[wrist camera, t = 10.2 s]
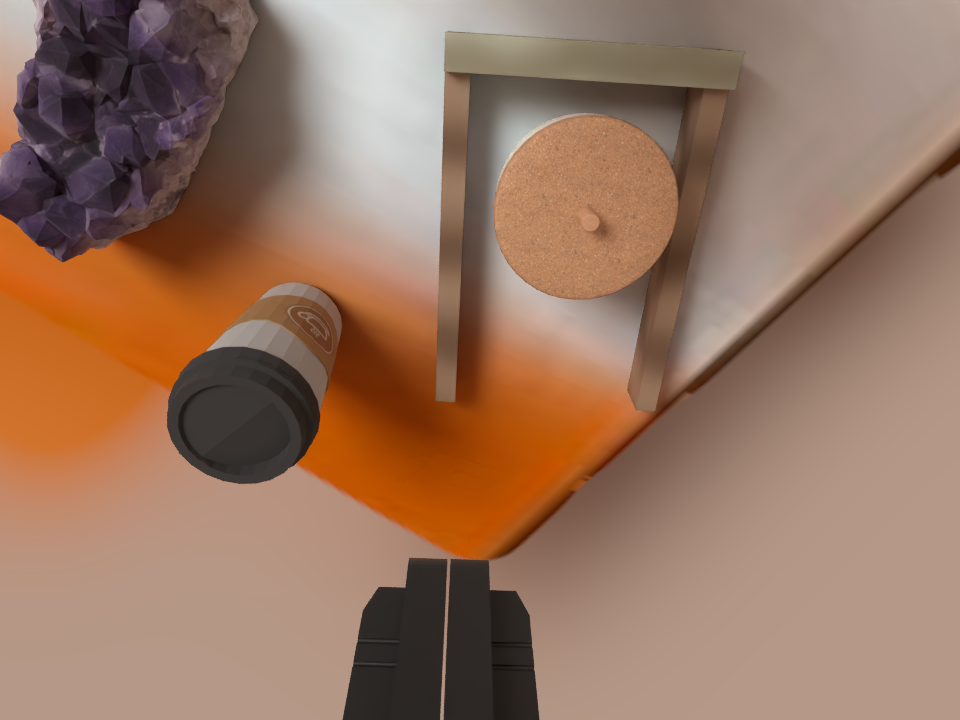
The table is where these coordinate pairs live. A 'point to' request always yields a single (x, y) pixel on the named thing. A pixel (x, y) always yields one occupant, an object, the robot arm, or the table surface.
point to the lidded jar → (585, 205)
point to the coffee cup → (258, 387)
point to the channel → (692, 163)
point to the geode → (116, 114)
